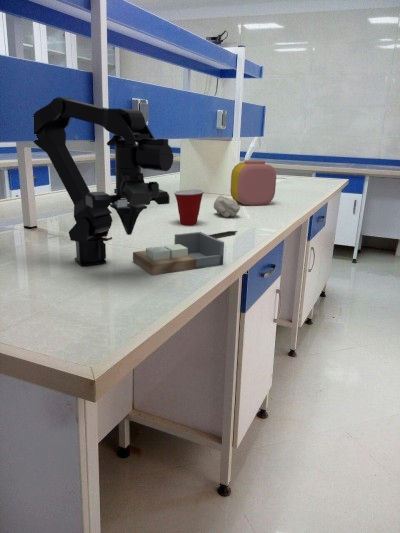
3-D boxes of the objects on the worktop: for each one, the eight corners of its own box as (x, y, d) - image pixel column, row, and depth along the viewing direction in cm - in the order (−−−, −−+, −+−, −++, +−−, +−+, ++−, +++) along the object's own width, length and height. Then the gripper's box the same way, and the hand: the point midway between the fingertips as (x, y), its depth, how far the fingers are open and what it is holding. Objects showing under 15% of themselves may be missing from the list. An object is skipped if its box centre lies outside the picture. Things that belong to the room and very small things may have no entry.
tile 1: (153, 260, 109) (153, 252, 108) (145, 255, 113) (145, 247, 112) (170, 258, 111) (170, 250, 111) (162, 253, 115) (162, 246, 114)
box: (196, 268, 112) (197, 245, 110) (174, 255, 122) (174, 234, 120) (223, 264, 116) (224, 242, 114) (199, 252, 126) (200, 231, 124)
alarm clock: (264, 201, 214) (268, 159, 208) (275, 205, 204) (279, 161, 198) (228, 202, 208) (231, 159, 202) (237, 206, 198) (240, 161, 192)
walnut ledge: (152, 275, 106) (152, 265, 106) (133, 261, 116) (132, 252, 115) (196, 268, 112) (196, 258, 111) (174, 255, 122) (174, 247, 121)
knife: (234, 232, 153) (234, 228, 152) (247, 236, 148) (247, 232, 147) (172, 241, 138) (172, 237, 138) (184, 246, 133) (184, 242, 133)
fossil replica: (223, 212, 185) (207, 217, 178) (221, 192, 182) (205, 196, 175) (246, 215, 176) (230, 220, 170) (245, 194, 174) (229, 198, 167)
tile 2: (171, 258, 112) (171, 250, 111) (163, 253, 115) (163, 245, 115) (187, 255, 114) (187, 248, 113) (179, 251, 117) (179, 244, 117)
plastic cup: (175, 219, 167) (176, 187, 163) (204, 221, 166) (205, 188, 162) (170, 226, 156) (170, 191, 153) (201, 228, 155) (202, 193, 152)
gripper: (99, 172, 90) (102, 247, 95) (181, 170, 100) (179, 238, 104) (83, 166, 99) (86, 235, 104) (159, 165, 109) (158, 228, 114)
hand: (128, 234), depth 106 cm, fingers closed
